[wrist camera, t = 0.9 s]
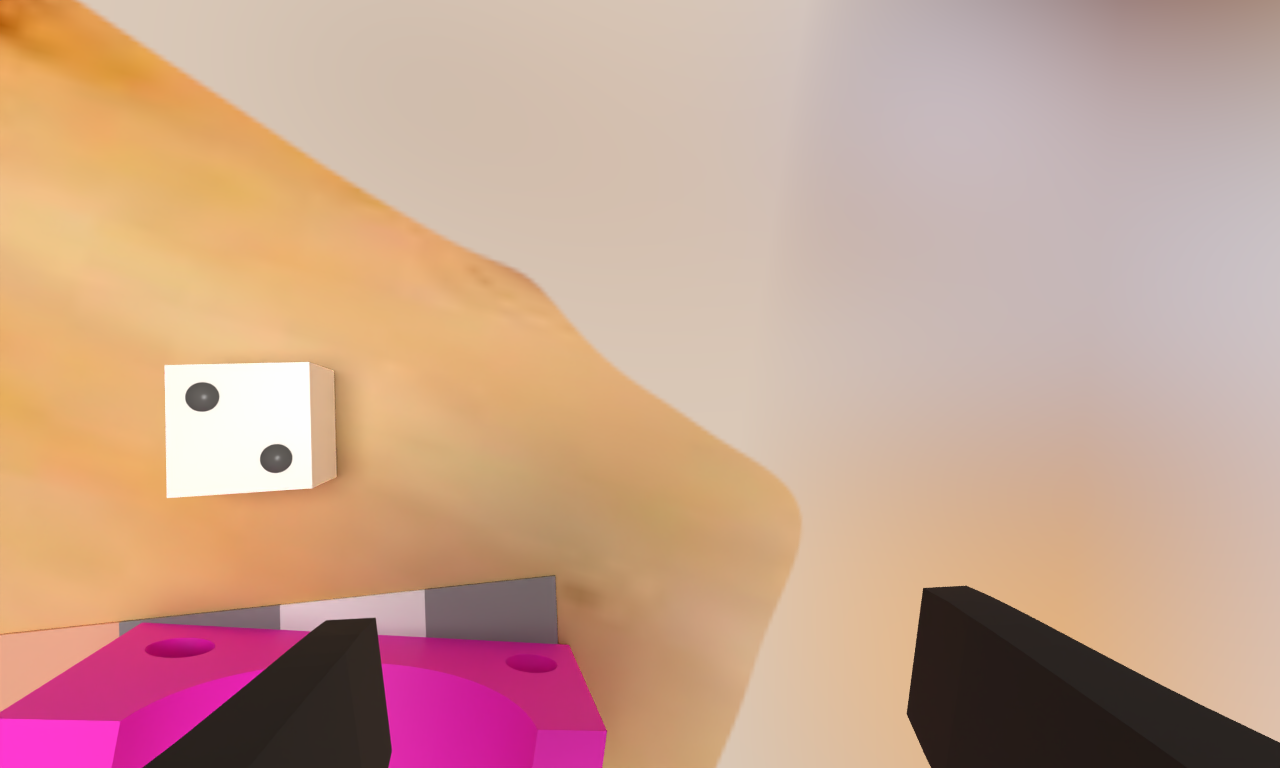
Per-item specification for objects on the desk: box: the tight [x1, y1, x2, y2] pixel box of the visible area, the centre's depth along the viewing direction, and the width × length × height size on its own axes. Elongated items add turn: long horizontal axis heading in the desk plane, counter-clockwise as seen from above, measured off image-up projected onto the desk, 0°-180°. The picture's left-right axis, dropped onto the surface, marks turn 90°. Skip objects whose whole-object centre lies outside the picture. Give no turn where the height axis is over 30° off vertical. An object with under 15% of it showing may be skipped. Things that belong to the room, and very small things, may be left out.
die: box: [165, 362, 337, 498], centre depth 22 cm, size 4×4×4 cm
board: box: [0, 575, 558, 712], centre depth 23 cm, size 9×25×1 cm, turn 93°
